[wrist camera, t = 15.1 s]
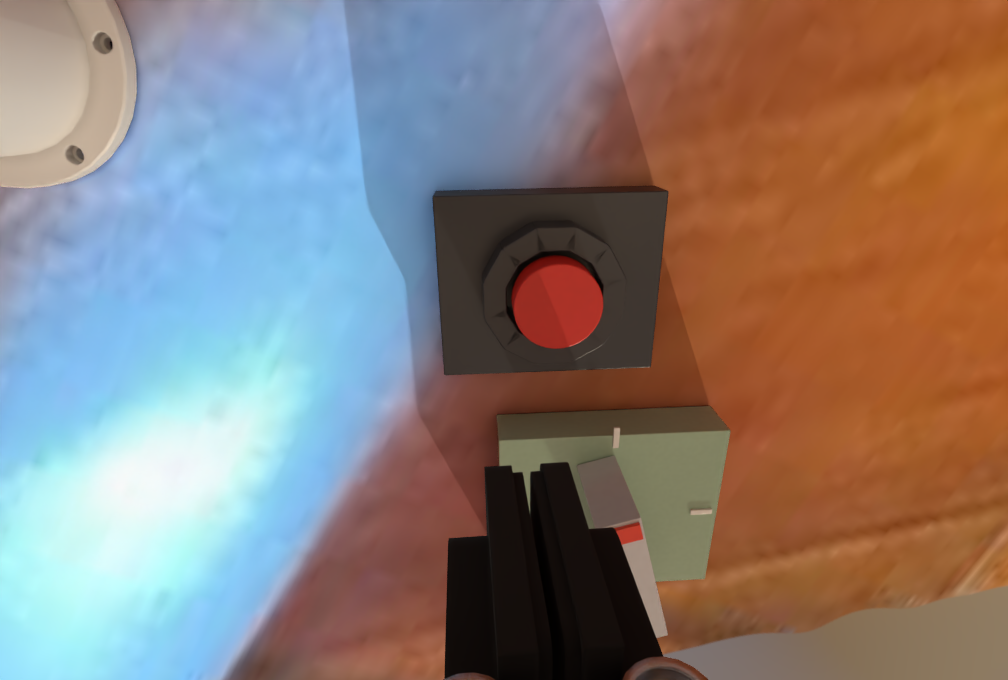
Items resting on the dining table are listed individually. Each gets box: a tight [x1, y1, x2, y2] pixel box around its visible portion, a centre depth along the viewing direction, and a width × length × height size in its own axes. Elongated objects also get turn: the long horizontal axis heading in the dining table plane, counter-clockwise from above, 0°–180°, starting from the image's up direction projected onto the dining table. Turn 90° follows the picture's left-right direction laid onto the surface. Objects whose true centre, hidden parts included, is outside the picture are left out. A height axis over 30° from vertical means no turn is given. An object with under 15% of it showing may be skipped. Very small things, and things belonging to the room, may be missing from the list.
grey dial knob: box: [577, 455, 668, 638], centre depth 31 cm, size 9×2×6 cm, turn 16°
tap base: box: [497, 406, 730, 582], centre depth 35 cm, size 14×13×3 cm
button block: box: [433, 186, 668, 375], centre depth 29 cm, size 12×10×4 cm
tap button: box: [511, 255, 603, 349], centre depth 27 cm, size 4×4×2 cm
